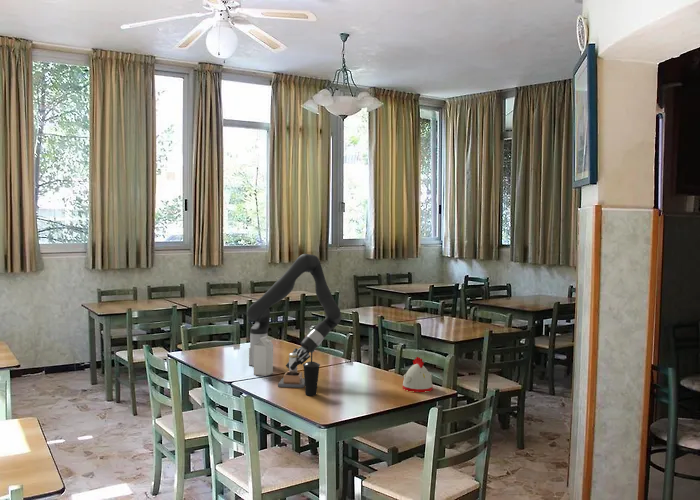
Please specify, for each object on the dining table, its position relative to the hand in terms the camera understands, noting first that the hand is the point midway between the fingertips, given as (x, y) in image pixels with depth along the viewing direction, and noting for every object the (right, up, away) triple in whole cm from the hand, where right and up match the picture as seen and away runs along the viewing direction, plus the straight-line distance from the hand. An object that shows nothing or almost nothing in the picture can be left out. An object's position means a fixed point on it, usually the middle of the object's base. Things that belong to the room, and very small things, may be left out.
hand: (289, 368), depth 297 cm
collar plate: (+2, -8, +1) cm, 8 cm away
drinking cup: (+11, -9, -16) cm, 22 cm away
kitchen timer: (+61, -10, -2) cm, 61 cm away
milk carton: (-15, -7, +20) cm, 26 cm away
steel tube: (+2, -5, +1) cm, 6 cm away
